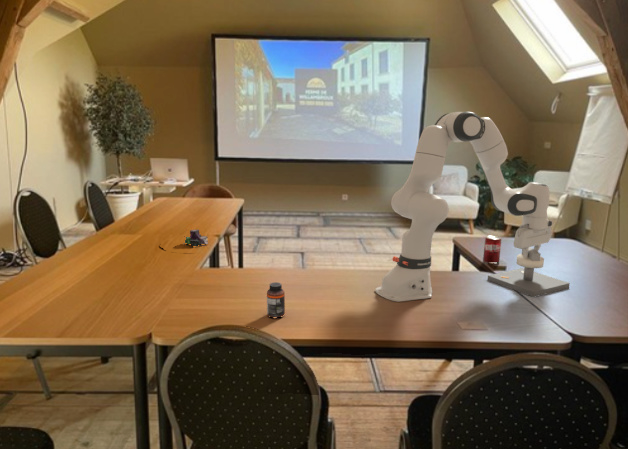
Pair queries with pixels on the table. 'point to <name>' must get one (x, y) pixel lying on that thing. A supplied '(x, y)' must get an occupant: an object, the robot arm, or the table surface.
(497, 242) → the soda can
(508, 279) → the lock base
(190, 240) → the mineral sample
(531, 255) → the cap
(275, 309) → the supplement bottle
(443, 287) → the table surface
